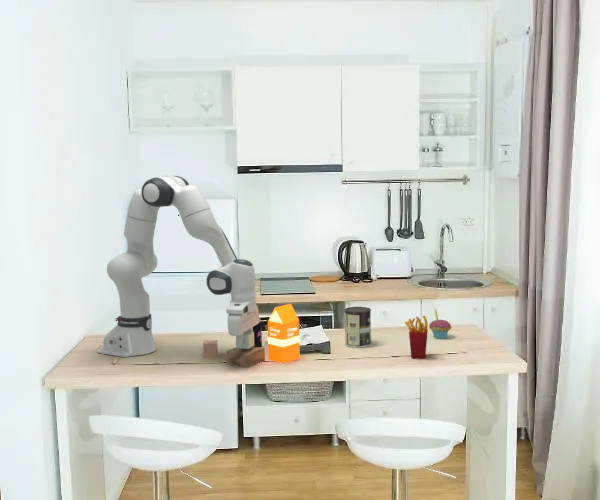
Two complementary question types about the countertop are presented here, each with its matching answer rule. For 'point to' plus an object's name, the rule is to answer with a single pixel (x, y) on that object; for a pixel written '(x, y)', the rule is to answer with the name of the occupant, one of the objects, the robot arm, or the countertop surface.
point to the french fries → (418, 338)
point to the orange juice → (283, 334)
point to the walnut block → (245, 356)
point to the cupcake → (439, 327)
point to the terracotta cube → (210, 348)
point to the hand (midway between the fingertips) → (244, 342)
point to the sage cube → (246, 340)
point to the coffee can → (357, 327)
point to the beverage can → (257, 334)
